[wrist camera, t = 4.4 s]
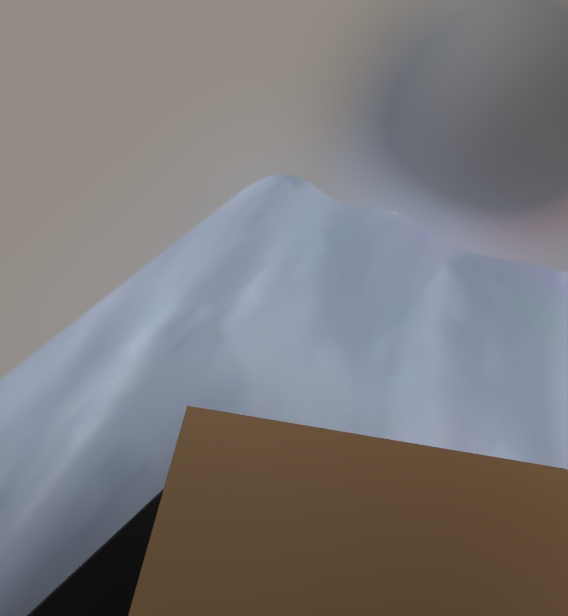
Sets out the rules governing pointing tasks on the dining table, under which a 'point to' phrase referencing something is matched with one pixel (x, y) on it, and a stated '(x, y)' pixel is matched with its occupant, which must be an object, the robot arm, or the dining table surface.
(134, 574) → the robot arm
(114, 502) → the dining table surface
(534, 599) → the brown block
